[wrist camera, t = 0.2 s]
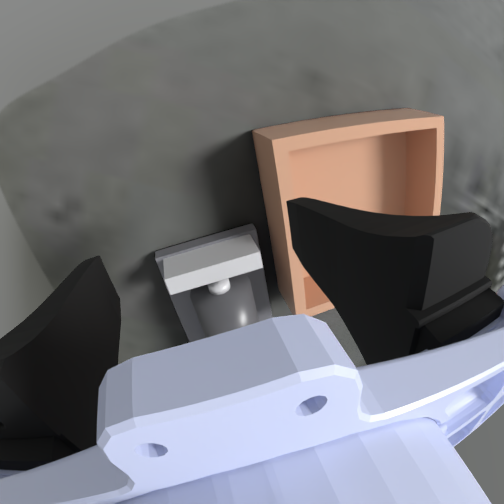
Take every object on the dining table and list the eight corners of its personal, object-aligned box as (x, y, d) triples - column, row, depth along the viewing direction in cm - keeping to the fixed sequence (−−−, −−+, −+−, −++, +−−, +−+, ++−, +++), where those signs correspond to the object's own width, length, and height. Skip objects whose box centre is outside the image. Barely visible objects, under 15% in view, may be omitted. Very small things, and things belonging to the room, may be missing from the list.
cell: (257, 335, 27) (274, 369, 23) (212, 350, 26) (223, 386, 23) (239, 257, 23) (257, 289, 19) (184, 274, 22) (192, 310, 18)
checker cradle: (274, 340, 29) (287, 367, 26) (201, 362, 28) (207, 392, 25) (252, 223, 23) (267, 246, 20) (155, 251, 22) (155, 279, 19)
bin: (405, 246, 28) (432, 268, 24) (278, 289, 26) (296, 321, 23) (408, 107, 21) (443, 116, 18) (251, 130, 19) (271, 140, 16)
